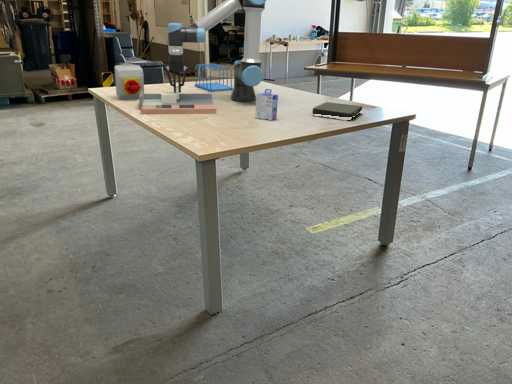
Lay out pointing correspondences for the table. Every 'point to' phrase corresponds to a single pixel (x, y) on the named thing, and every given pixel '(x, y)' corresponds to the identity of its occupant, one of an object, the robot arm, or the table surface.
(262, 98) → the ink cartridge box
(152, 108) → the trap box
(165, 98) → the block
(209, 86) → the file sorter
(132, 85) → the electrical switch box
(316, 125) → the table surface
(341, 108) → the network switch
